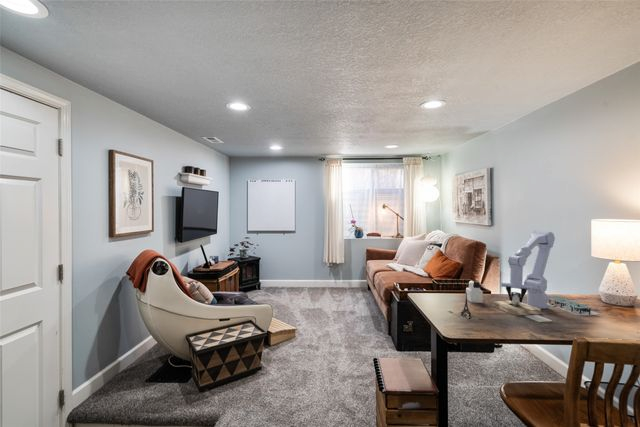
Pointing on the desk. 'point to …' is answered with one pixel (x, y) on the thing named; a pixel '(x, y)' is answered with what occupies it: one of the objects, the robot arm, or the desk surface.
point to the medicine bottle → (474, 292)
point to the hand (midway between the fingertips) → (515, 301)
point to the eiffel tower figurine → (464, 311)
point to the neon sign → (573, 307)
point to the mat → (538, 318)
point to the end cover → (515, 299)
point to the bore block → (516, 308)
